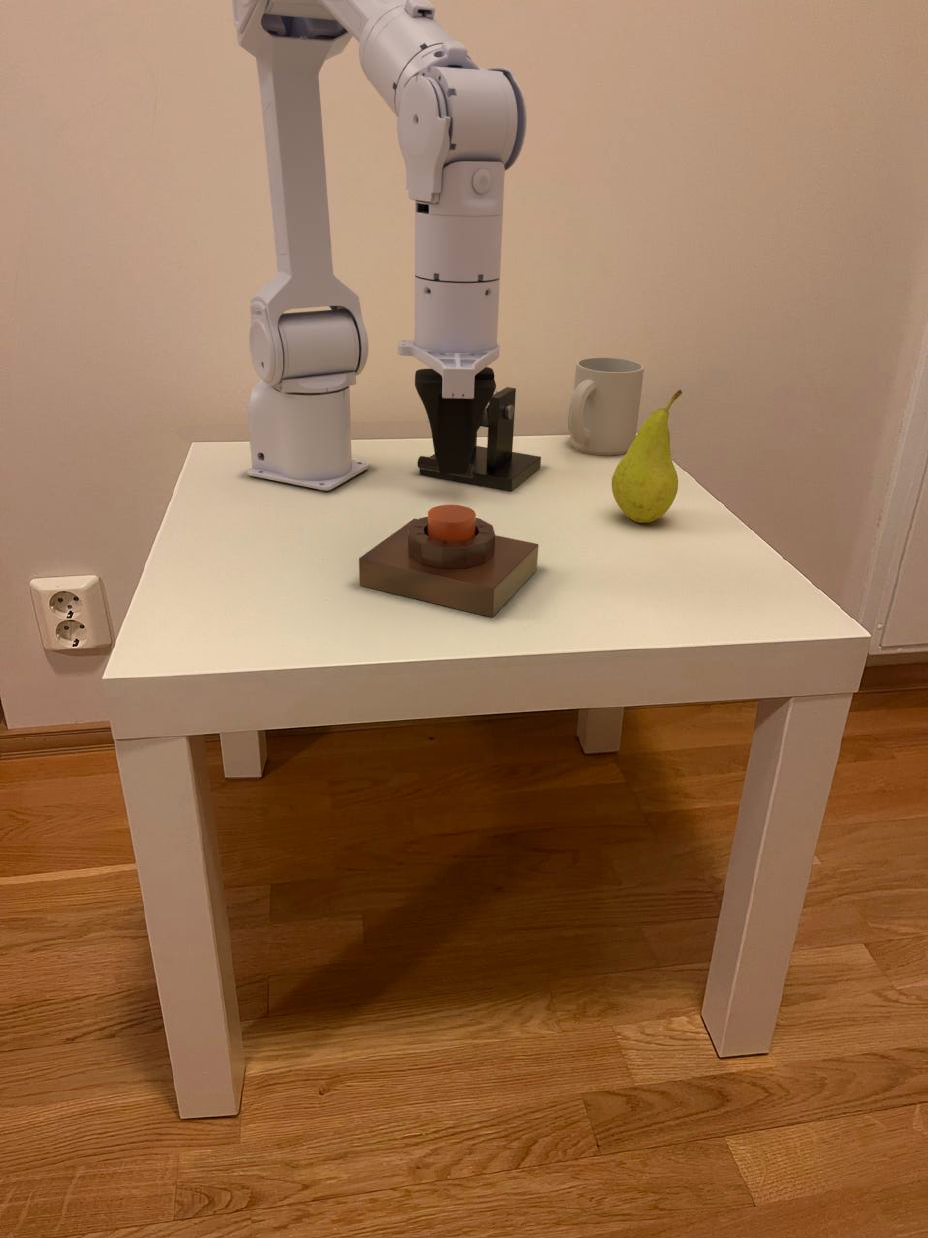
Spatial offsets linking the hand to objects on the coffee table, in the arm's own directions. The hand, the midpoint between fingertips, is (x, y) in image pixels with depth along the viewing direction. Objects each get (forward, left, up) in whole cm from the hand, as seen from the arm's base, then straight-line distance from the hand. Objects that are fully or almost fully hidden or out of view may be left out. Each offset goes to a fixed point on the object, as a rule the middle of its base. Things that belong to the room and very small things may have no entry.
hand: (452, 470), depth 67 cm
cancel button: (0, -1, -5) cm, 5 cm away
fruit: (+10, +18, -8) cm, 23 cm away
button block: (0, -1, -8) cm, 8 cm away
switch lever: (-8, +20, -5) cm, 22 cm away
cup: (0, +36, -8) cm, 37 cm away
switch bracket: (-8, +23, -8) cm, 26 cm away
